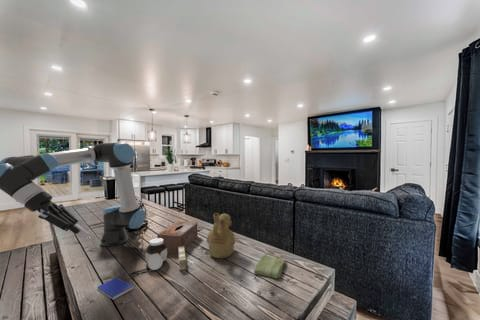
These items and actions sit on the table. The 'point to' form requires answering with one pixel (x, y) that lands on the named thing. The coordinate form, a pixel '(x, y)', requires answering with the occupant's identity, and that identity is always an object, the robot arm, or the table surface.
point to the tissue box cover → (178, 235)
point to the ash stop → (181, 258)
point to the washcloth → (269, 266)
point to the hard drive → (115, 288)
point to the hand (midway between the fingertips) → (86, 236)
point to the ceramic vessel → (221, 237)
